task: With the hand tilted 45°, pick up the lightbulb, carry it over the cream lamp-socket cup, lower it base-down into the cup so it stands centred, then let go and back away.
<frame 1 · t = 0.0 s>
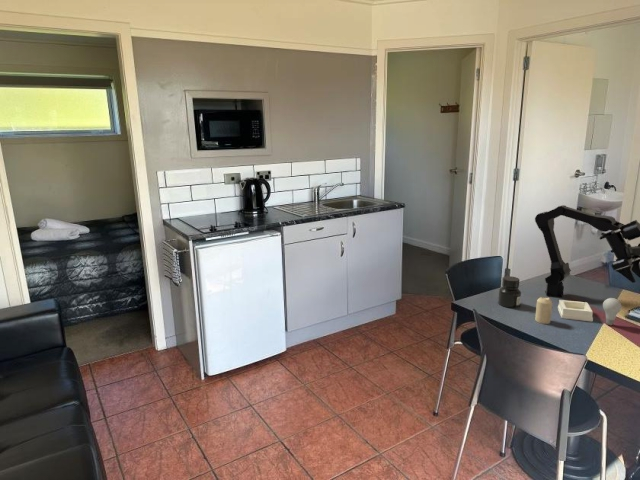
hand: (637, 279, 180), 15 cm above the table, tool tilted 35°, fingers open, 9 cm apart
lightbulb: (609, 325, 174), on the table
candle: (542, 321, 178), on the table
ink bottle: (508, 304, 196), on the table
socket: (574, 314, 184), on the table
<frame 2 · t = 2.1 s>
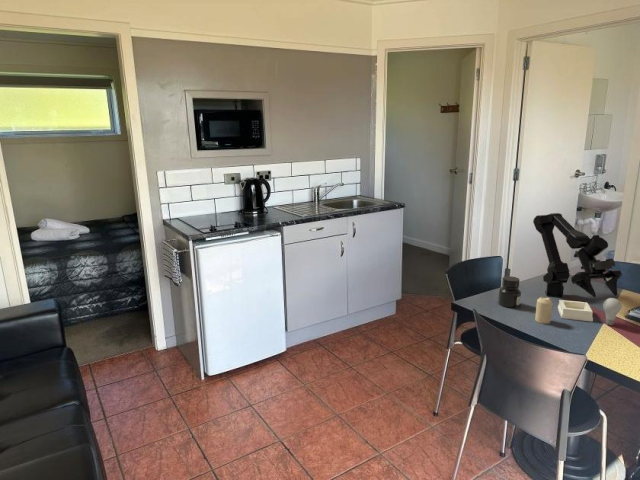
hand: (605, 296, 175), 11 cm above the table, tool tilted 45°, fingers open, 9 cm apart
nothing on the table moved.
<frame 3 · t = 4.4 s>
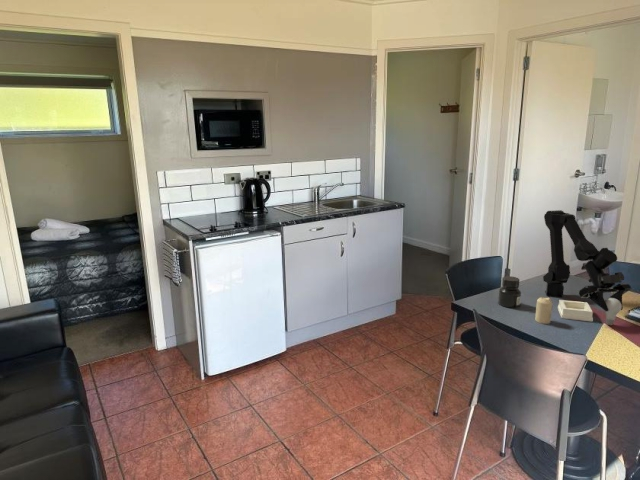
hand: (614, 310, 171), 7 cm above the table, tool tilted 45°, fingers closed on lightbulb, 6 cm apart
lightbulb: (609, 325, 174), on the table, touching gripper
everything else where it was.
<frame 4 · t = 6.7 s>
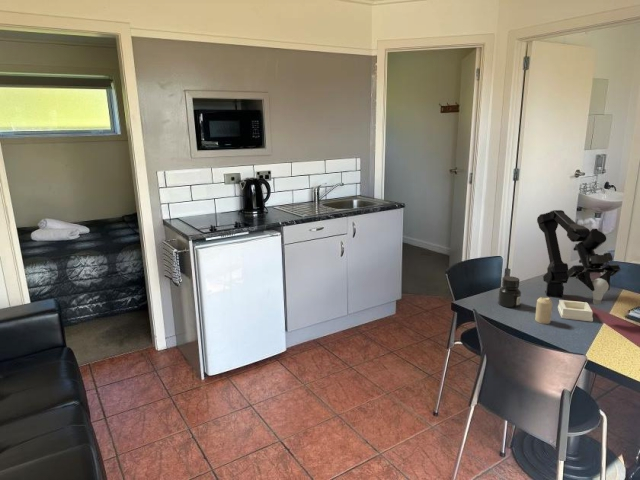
hand: (600, 290, 173), 13 cm above the table, tool tilted 45°, fingers closed on lightbulb, 6 cm apart
lightbulb: (596, 305, 176), point 7 cm above the table, touching gripper
everything else where it was.
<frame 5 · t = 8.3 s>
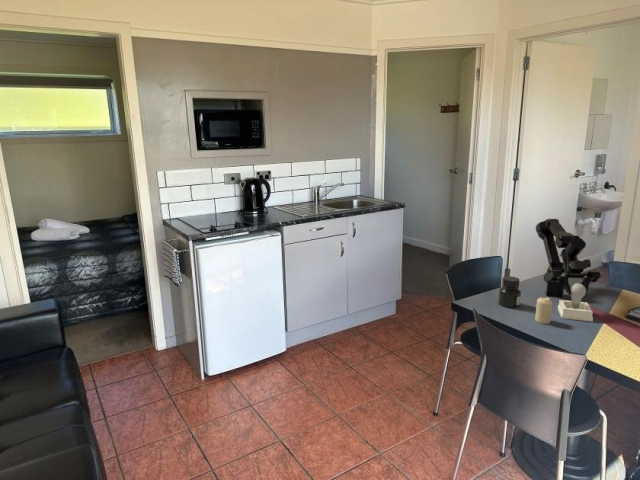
hand: (578, 295, 181), 9 cm above the table, tool tilted 45°, fingers closed on lightbulb, 6 cm apart
lightbulb: (574, 309, 183), point 2 cm above the table, touching gripper
everything else where it was.
when the fingers open (9 cm above the table, at t = 9.4 s): lightbulb stays where it is, resting on socket.
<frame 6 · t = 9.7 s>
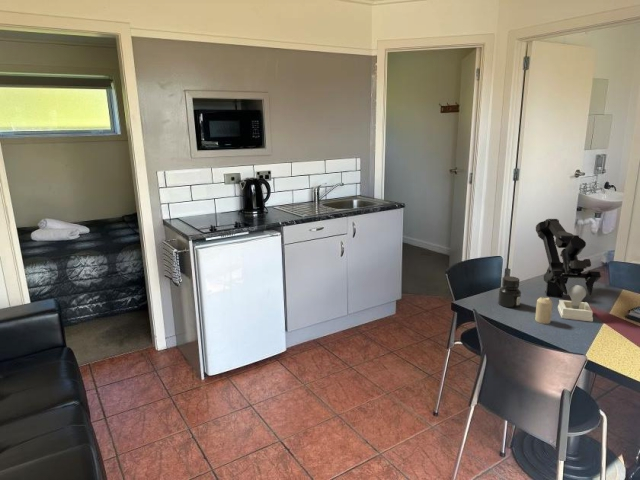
hand: (578, 294, 180), 9 cm above the table, tool tilted 45°, fingers open, 9 cm apart
lightbulb: (574, 311, 183), point 2 cm above the table, touching socket
everything else where it was.
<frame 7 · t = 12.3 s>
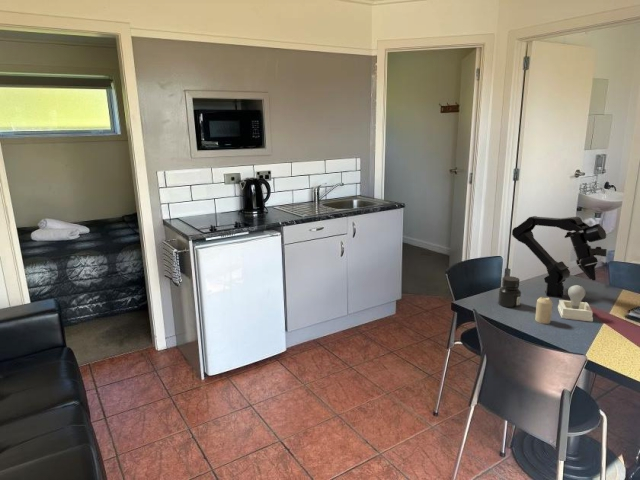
hand: (592, 279, 191), 12 cm above the table, tool tilted 25°, fingers open, 9 cm apart
nothing on the table moved.
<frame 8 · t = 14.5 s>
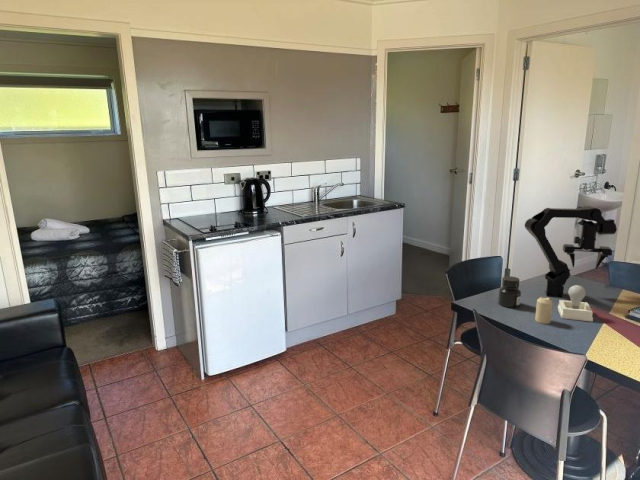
hand: (584, 267, 203), 13 cm above the table, tool pointing down, fingers open, 9 cm apart
nothing on the table moved.
at the end: lightbulb 0.1 cm off-centre on the socket, point 1.5 cm above the socket's base; lightbulb tilted 1°; the gripper is holding nothing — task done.
